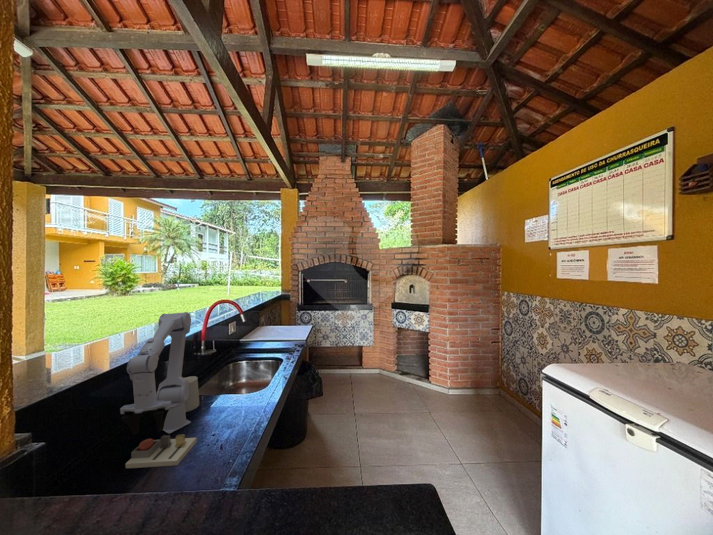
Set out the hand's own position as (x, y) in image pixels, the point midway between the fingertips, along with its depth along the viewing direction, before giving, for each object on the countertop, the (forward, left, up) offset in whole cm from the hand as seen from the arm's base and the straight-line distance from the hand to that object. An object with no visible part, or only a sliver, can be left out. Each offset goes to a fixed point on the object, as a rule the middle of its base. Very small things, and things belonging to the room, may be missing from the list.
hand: (148, 431), depth 90 cm
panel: (+2, +3, -9) cm, 9 cm away
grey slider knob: (+2, +4, -7) cm, 8 cm away
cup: (-22, +23, -9) cm, 33 cm away
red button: (-1, 0, -6) cm, 6 cm away
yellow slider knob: (+6, +7, -7) cm, 11 cm away
